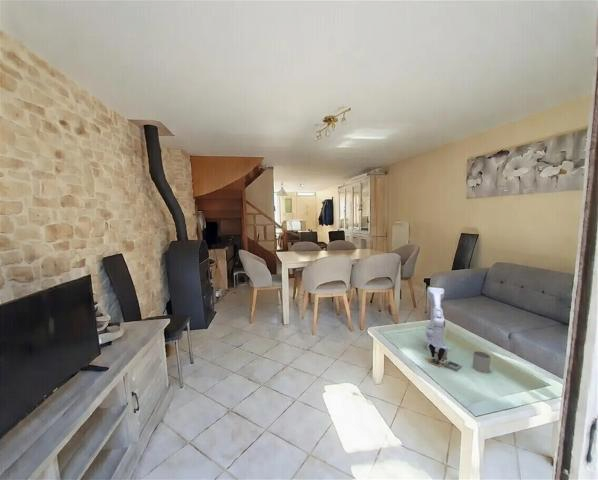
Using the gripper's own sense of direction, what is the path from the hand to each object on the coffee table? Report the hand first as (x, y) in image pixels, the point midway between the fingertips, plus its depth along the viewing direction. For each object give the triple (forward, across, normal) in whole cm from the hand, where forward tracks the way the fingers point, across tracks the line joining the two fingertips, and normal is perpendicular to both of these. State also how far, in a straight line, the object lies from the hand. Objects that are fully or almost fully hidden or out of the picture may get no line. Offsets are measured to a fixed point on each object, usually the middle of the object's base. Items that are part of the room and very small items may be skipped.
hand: (436, 358), depth 162 cm
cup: (+4, +19, +16) cm, 25 cm away
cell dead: (+3, 0, +10) cm, 11 cm away
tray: (+4, 0, +2) cm, 4 cm away
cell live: (+2, 0, 0) cm, 2 cm away
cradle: (+4, +8, +5) cm, 10 cm away
